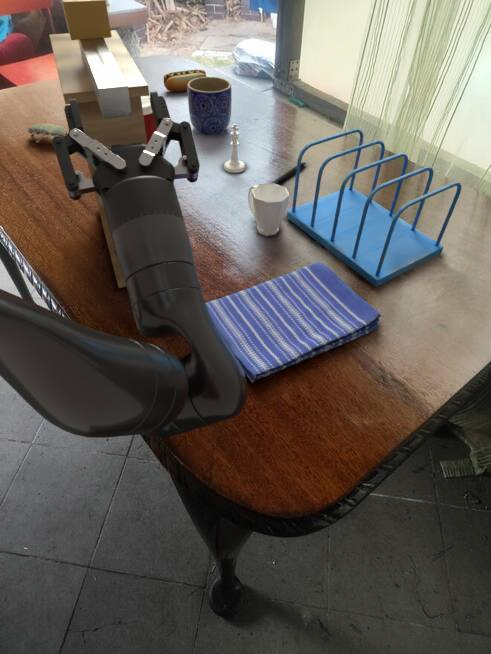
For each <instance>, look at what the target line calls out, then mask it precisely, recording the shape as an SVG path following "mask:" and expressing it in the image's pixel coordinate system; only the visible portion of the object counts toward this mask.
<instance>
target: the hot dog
mask: <svg viewBox="0 0 491 654" xmlns="http://www.w3.org/2000/svg"><path fill="white" fill-rule="evenodd" d="M200 77H207V73H206V70H204V69H188V70H187V69H186V70H181V71H175V72H174V71H173V72H169V73H167V74H165V75H163V86H164V88H165V90H167V91H168V92H172V93H174V92H187V84H188V82H189V81H191V80H193V79H196V78H200Z"/></svg>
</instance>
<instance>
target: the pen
mask: <svg viewBox="0 0 491 654" xmlns="http://www.w3.org/2000/svg"><path fill="white" fill-rule="evenodd" d="M306 163H307V162H301V166H300V170H301V169H302V168H304V167H305V165H306ZM296 170H297V165H296V166H294V167H293V168H291V169H290V170H288V171H287V172H285V173H284V174H283V175H281V176H279V177H278V178H276V179H275V180H273V181H272V182H271V183H275V184H278V185H280V184H281V183H282V182H283V181H285V180H287V179H288V178H289V177H290V176H292V175H294V174H296Z"/></svg>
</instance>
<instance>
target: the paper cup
mask: <svg viewBox="0 0 491 654" xmlns="http://www.w3.org/2000/svg"><path fill="white" fill-rule="evenodd" d="M141 102H142V109H143V117H144V124H145V131H146V139H147V144H148V143H149V141H150V139H151V137H152V135H153V133H154V132H156V131H157V126H156V123H155V119H154V116H153V112H152V109H151V104H150V96H141Z"/></svg>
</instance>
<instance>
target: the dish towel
mask: <svg viewBox="0 0 491 654" xmlns="http://www.w3.org/2000/svg"><path fill="white" fill-rule="evenodd" d="M205 304H206V306H207V308H208V310H209V313H210V315H211V317H212V318H213V320H214V322H215V324H216V326H217V328H218V330H219V332H220V333H221V335H222V337H223V338H224V340H225V342H226V343H227V345H228V346H229V348H230V349H231V351H232V352H233V354H234V355H235V357H236V359H237V360H238V362H239V364H240V365H241V367H242V369H243V371H244V374H245V376H246V377H247V378H248V379H249V380H250V382H251V383H255V382H256V381H258V380H260V379H262V378H265V377H268V376H271V375H272V374H275V373H277V372H279V371H283V370H284V369H287V368H289V367H291V366H294V365H297V364H299V363H301V362H303V361H305V360H307V359H310V358H311V359H312V358H313V357H315V356H318V355H321V354H323V353H325V352H327V351H329V350H333V349H334V348H337V347H339V346H342V345H345V344H346V343H349V342H352V341H353V340H356V339H358V338H360V337H362V336H365V335H367V334H370V333H371V332H373V331H374V330H377V329H378V328H379V327H380V324H379V322H380V318H381V317H382V314H381V313H380V312H379V311H378V310H377V309H376V308H375V307H374V306H372V305H371V304H369V303H368V302H367V301H365V300H364V299H363V298H362V297H361V296H359V295H358V293H357V292H355V291H354V290H353V289H352V288H351V287H350V286H349V285H348V284H347V283H346V282H345V281H344V280H343V279H342V278H341V277H340V276H339V275H337V274H336V272H334V271H332V270H331V268H329V266H327V265H326V264H324V263H323V262H320V261H316V262H314V263H312V264H309V265H307V266H304V267H301V268H300V269H297V270H294V271H291V272H289V273H285V274H284V275H281V276H278V277H276V278H272V279H270V280H266V281H264V282H261V283H258V284H256V285H253V286H251V287H249V288H245V289H243V290H240V291H237V292H235V293H232V294H229V295H225V296H223V297H221V298H220V297H219V298H217V299H213V300H210V301H207V302H205Z"/></svg>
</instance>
